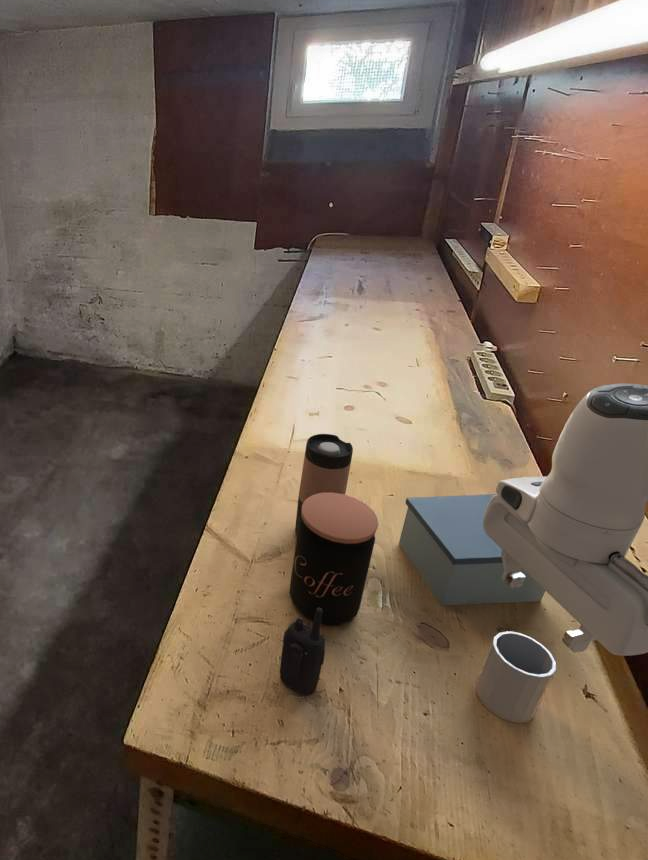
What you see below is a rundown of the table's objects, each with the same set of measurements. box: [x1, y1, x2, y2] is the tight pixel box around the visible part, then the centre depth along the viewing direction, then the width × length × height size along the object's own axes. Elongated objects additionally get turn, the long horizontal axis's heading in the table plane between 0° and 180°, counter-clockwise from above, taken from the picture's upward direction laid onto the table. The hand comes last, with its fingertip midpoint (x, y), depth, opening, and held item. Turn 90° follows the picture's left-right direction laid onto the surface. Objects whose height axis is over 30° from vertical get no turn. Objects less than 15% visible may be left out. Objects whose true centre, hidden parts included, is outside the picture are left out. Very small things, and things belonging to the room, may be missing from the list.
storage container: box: [398, 493, 546, 606], centre depth 93 cm, size 17×15×10 cm
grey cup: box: [475, 630, 557, 724], centre depth 73 cm, size 7×7×9 cm
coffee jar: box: [289, 493, 379, 627], centre depth 87 cm, size 11×11×18 cm
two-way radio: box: [279, 608, 326, 696], centre depth 75 cm, size 6×4×15 cm
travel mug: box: [294, 433, 354, 538], centre depth 100 cm, size 8×8×20 cm
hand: (540, 613), depth 68 cm, fingers open, 8 cm apart
